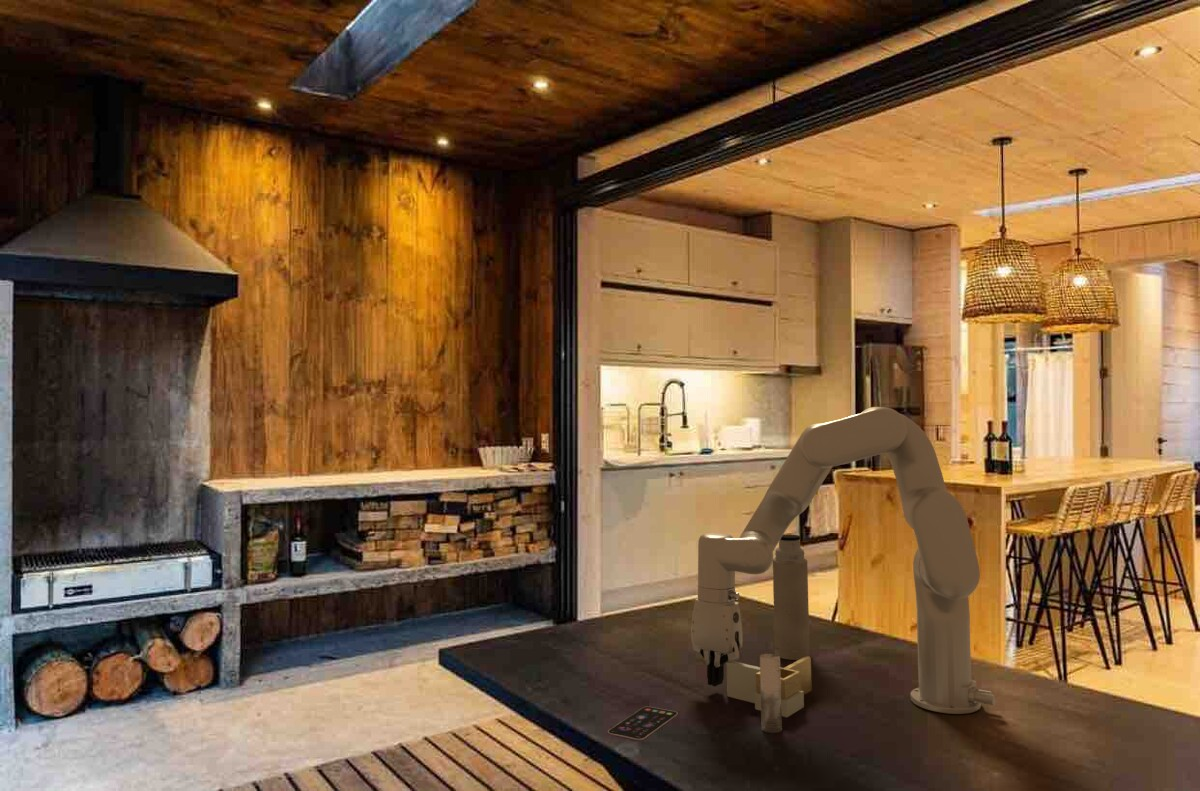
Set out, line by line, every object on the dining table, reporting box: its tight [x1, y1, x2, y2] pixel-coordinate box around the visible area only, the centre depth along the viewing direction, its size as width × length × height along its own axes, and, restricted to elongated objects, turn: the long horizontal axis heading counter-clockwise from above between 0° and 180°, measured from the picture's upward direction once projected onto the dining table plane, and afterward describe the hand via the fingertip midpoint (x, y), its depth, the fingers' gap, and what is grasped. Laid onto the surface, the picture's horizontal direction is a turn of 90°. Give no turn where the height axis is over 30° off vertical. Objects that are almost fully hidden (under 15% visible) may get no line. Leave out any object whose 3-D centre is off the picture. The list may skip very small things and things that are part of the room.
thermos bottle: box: [772, 534, 811, 661], centre depth 190 cm, size 8×8×28 cm
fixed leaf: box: [756, 656, 812, 699], centre depth 160 cm, size 6×16×7 cm, turn 139°
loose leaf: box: [725, 660, 805, 718], centre depth 159 cm, size 15×7×7 cm, turn 49°
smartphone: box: [607, 706, 679, 742], centre depth 150 cm, size 8×1×15 cm
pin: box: [759, 653, 783, 734], centre depth 146 cm, size 4×4×13 cm
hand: (715, 683), depth 165 cm, fingers closed
